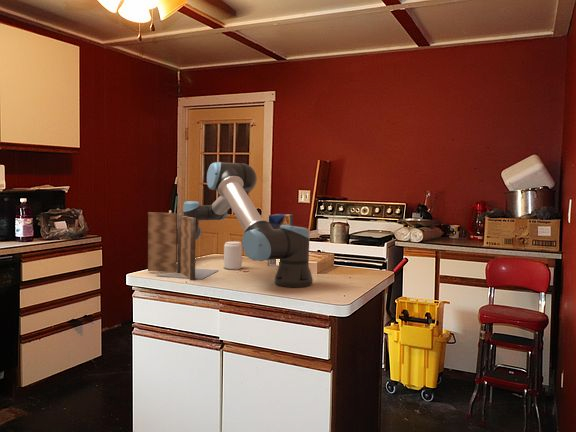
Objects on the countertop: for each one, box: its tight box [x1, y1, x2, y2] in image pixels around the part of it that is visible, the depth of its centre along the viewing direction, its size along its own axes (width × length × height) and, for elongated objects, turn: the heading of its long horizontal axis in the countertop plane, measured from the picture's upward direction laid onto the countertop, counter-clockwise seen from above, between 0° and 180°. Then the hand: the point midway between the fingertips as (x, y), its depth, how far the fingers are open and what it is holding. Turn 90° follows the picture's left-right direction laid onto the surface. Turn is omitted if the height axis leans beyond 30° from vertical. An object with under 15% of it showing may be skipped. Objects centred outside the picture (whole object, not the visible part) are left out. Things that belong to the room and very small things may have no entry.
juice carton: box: [267, 213, 294, 267], centre depth 250 cm, size 12×8×24 cm, turn 158°
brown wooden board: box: [147, 211, 178, 273], centre depth 221 cm, size 12×1×25 cm, turn 82°
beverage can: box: [223, 241, 243, 271], centre depth 237 cm, size 8×8×12 cm
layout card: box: [156, 268, 219, 280], centre depth 223 cm, size 20×20×1 cm
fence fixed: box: [177, 212, 197, 281], centre depth 215 cm, size 16×2×26 cm, turn 33°
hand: (159, 241), depth 222 cm, fingers closed
